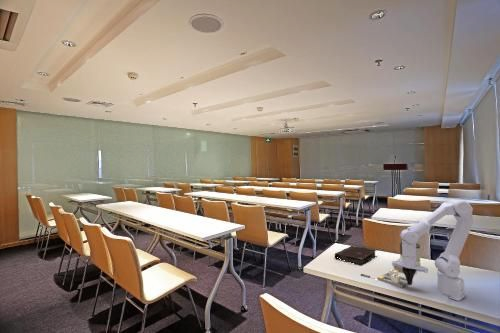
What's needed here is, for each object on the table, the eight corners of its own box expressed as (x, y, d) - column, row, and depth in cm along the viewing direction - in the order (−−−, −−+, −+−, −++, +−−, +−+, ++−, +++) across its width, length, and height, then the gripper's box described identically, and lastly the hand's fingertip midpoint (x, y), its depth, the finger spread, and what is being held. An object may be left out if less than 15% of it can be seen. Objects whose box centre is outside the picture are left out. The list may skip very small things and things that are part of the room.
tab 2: (400, 284, 128) (400, 274, 128) (397, 285, 126) (397, 276, 127) (394, 282, 131) (394, 272, 131) (391, 283, 129) (391, 274, 129)
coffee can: (396, 265, 156) (395, 242, 156) (409, 264, 159) (409, 241, 159) (410, 272, 146) (410, 247, 146) (425, 270, 149) (424, 245, 149)
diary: (334, 260, 169) (333, 252, 169) (351, 251, 186) (351, 244, 186) (363, 267, 155) (362, 258, 156) (378, 257, 173) (378, 249, 173)
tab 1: (398, 278, 135) (397, 269, 135) (395, 279, 133) (395, 270, 133) (392, 276, 137) (392, 267, 137) (389, 278, 136) (389, 269, 136)
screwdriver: (382, 282, 133) (382, 278, 133) (381, 283, 132) (381, 279, 132) (361, 276, 140) (361, 273, 140) (360, 277, 139) (360, 274, 139)
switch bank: (412, 284, 130) (412, 280, 130) (402, 290, 124) (401, 285, 124) (388, 276, 140) (388, 272, 140) (377, 281, 134) (377, 277, 134)
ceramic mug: (392, 272, 146) (392, 258, 146) (398, 268, 151) (398, 255, 151) (413, 278, 138) (413, 264, 138) (418, 274, 143) (418, 260, 143)
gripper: (428, 256, 122) (429, 285, 121) (394, 250, 131) (395, 277, 131) (426, 260, 116) (426, 291, 116) (390, 253, 126) (391, 281, 126)
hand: (409, 284), depth 123 cm, fingers closed
